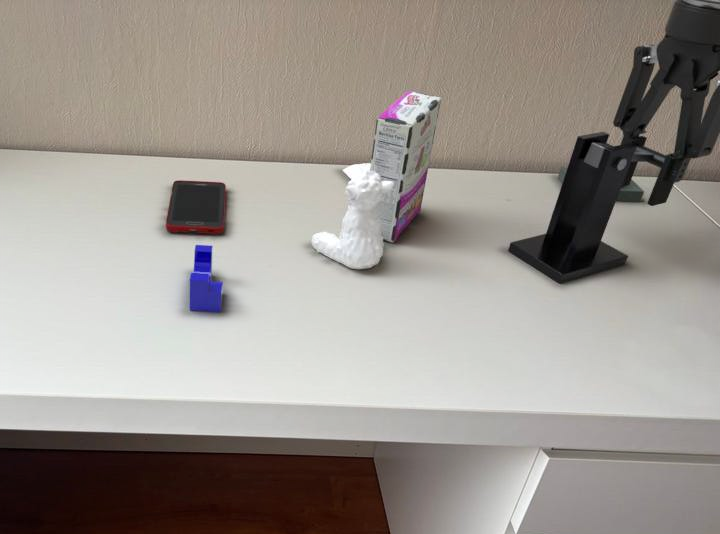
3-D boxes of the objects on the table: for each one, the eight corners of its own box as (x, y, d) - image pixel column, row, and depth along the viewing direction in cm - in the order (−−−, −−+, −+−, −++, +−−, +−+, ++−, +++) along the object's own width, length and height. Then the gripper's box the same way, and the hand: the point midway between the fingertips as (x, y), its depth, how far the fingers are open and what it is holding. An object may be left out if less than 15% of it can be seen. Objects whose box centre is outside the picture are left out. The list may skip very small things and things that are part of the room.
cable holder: (220, 312, 84) (221, 281, 82) (189, 310, 84) (189, 279, 82) (224, 275, 91) (225, 246, 88) (195, 274, 91) (195, 244, 88)
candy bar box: (387, 203, 109) (407, 89, 98) (420, 211, 107) (444, 96, 96) (358, 234, 101) (375, 114, 91) (392, 244, 99) (415, 123, 89)
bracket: (571, 234, 104) (611, 122, 94) (625, 264, 98) (673, 147, 88) (507, 251, 99) (542, 134, 90) (559, 283, 93) (602, 162, 83)
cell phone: (165, 232, 98) (164, 225, 98) (173, 185, 110) (173, 179, 110) (223, 235, 99) (223, 228, 98) (225, 188, 110) (226, 182, 110)
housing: (618, 180, 120) (626, 159, 118) (640, 201, 114) (649, 180, 112) (557, 177, 120) (564, 156, 118) (575, 199, 113) (583, 177, 111)
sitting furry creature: (375, 238, 100) (390, 152, 93) (403, 270, 94) (422, 180, 86) (309, 245, 98) (319, 157, 91) (333, 278, 91) (346, 186, 84)
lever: (634, 158, 97) (643, 140, 96) (667, 173, 94) (677, 154, 93) (574, 157, 92) (582, 138, 90) (606, 173, 88) (616, 153, 87)
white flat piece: (383, 212, 106) (384, 205, 106) (342, 171, 118) (343, 164, 117) (415, 209, 108) (416, 202, 107) (372, 168, 119) (372, 161, 118)
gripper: (623, -14, 89) (564, 172, 103) (769, 23, 76) (679, 229, 90) (665, -17, 92) (602, 164, 106) (812, 17, 79) (718, 218, 93)
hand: (637, 193), depth 98 cm, fingers closed on lever, 5 cm apart
